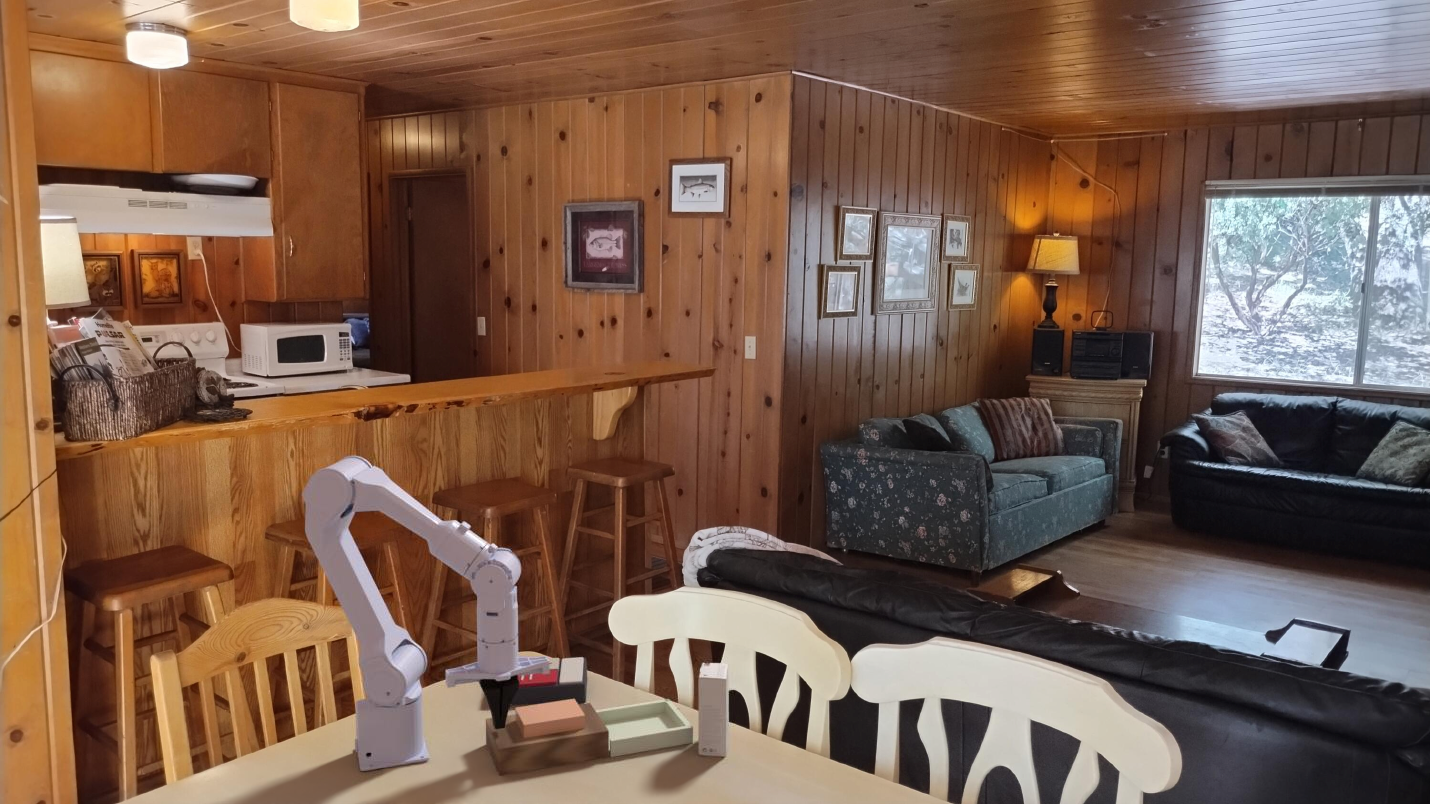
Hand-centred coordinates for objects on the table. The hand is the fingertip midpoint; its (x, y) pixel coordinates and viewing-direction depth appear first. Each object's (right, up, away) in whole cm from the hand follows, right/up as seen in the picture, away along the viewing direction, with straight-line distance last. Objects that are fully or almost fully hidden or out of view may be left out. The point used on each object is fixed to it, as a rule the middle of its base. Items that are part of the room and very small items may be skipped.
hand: (498, 725), depth 152 cm
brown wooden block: (+6, -5, +3) cm, 9 cm away
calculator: (+2, -2, +24) cm, 25 cm away
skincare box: (+31, -5, +6) cm, 32 cm away
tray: (+20, -4, +9) cm, 22 cm away
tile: (+7, -1, +3) cm, 8 cm away
